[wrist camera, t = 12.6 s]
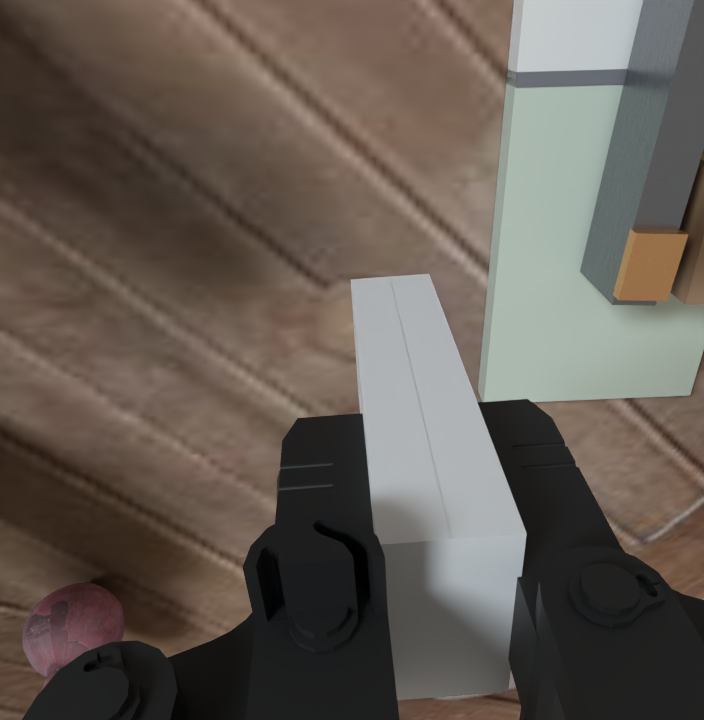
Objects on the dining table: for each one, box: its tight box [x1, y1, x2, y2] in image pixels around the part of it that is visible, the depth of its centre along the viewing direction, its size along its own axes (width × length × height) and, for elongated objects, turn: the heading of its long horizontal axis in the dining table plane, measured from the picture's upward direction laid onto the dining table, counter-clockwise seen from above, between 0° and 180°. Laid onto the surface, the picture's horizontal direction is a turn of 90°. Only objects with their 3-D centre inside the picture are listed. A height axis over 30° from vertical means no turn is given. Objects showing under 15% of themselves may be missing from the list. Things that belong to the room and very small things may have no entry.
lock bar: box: [580, 0, 704, 306], centre depth 25 cm, size 17×3×5 cm, turn 178°
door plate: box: [478, 0, 704, 402], centre depth 28 cm, size 32×12×2 cm, turn 1°
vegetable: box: [23, 582, 124, 692], centre depth 39 cm, size 6×6×10 cm
